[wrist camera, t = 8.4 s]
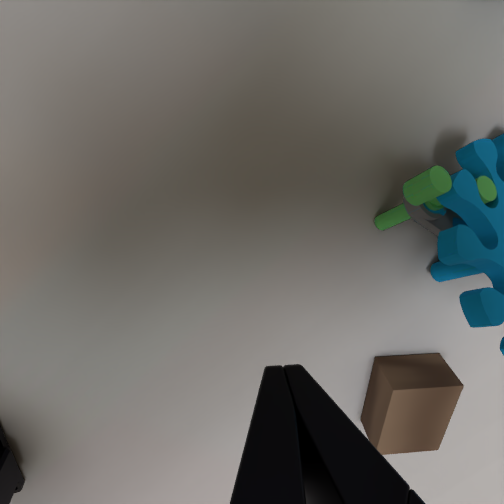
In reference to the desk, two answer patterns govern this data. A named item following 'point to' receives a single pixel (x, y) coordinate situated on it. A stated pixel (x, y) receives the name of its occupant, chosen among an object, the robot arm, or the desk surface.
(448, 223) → the gear
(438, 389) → the joist marks
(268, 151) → the desk surface
